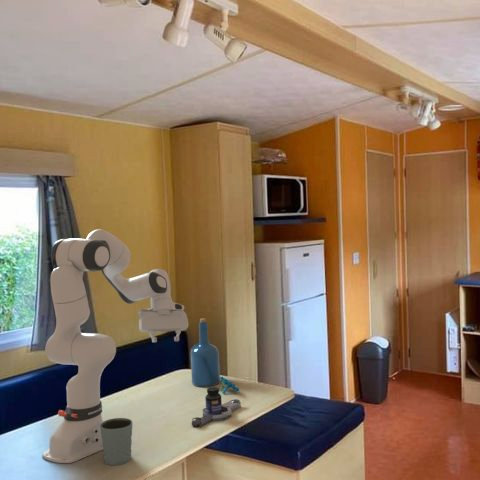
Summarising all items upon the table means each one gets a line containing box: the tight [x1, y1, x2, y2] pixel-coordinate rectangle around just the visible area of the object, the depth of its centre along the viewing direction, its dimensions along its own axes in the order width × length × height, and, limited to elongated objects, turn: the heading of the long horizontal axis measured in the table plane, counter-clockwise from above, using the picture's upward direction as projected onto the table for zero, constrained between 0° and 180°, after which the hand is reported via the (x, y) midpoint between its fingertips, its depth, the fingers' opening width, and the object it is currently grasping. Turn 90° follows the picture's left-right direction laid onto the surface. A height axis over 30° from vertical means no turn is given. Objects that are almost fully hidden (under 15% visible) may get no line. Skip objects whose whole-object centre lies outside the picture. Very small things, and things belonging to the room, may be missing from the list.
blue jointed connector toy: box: [219, 376, 240, 395], centre depth 244 cm, size 11×6×10 cm
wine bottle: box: [190, 317, 221, 388], centre depth 259 cm, size 14×13×30 cm
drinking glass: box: [100, 417, 133, 466], centre depth 182 cm, size 10×10×12 cm
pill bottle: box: [204, 386, 223, 414], centre depth 216 cm, size 6×6×11 cm
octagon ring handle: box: [191, 398, 242, 429], centre depth 217 cm, size 26×11×3 cm, turn 142°
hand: (165, 341), depth 225 cm, fingers open, 8 cm apart
